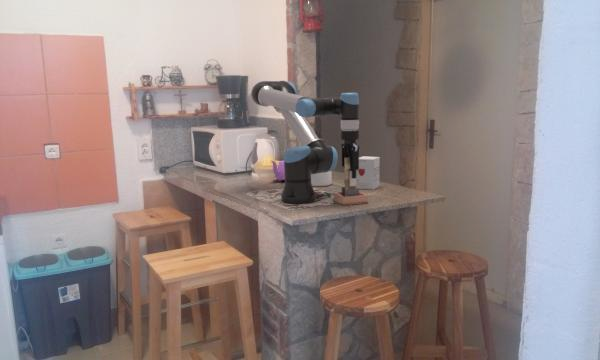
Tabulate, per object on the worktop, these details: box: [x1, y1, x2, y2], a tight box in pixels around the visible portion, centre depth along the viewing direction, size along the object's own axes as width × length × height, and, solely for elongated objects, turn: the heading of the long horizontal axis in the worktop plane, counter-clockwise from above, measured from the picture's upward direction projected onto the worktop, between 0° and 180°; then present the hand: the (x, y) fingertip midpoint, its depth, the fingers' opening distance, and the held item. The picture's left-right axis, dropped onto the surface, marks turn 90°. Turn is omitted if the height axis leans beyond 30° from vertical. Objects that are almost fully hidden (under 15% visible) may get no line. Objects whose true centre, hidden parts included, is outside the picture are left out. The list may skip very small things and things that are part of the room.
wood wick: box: [344, 157, 357, 197], centre depth 206 cm, size 4×2×18 cm, turn 107°
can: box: [311, 171, 333, 187], centre depth 247 cm, size 12×12×20 cm
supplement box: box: [356, 155, 381, 191], centre depth 236 cm, size 9×9×15 cm
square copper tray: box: [333, 186, 369, 206], centre depth 207 cm, size 11×11×6 cm
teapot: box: [270, 160, 285, 182], centre depth 260 cm, size 20×14×12 cm
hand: (350, 184), depth 206 cm, fingers open, 5 cm apart
